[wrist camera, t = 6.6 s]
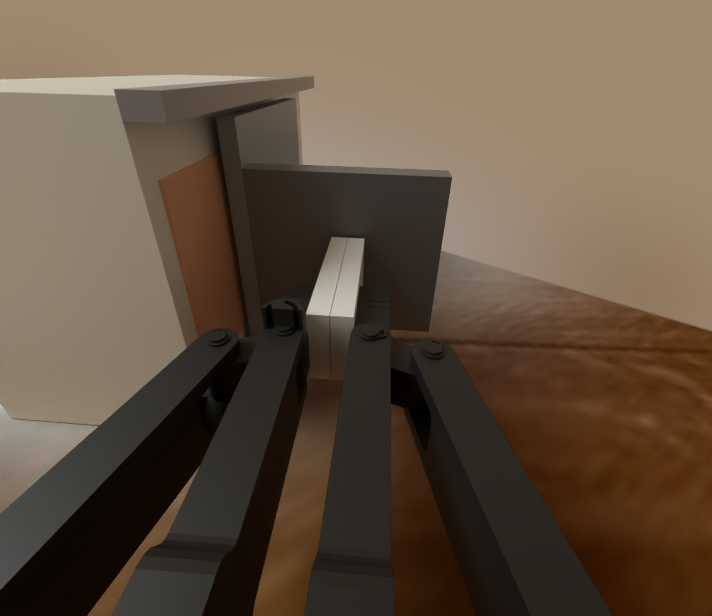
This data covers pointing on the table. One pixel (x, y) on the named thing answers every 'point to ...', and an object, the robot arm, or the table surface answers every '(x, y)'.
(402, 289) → the side door
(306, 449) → the table surface
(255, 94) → the housing
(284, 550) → the table surface
